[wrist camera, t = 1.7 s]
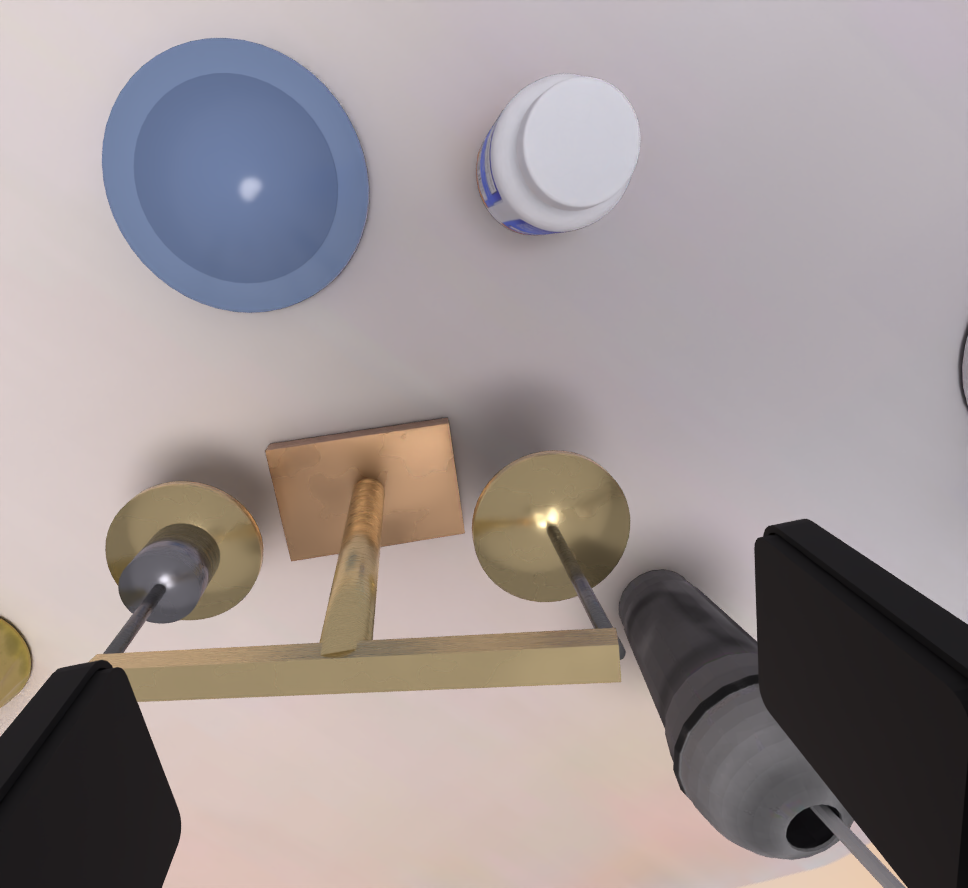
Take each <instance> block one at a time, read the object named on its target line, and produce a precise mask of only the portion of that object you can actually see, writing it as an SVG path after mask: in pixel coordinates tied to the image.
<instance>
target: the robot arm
mask: <svg viewBox="0 0 968 888" xmlns="http://www.w3.org/2000/svg"><path fill="white" fill-rule="evenodd" d="M962 373H963V389H964V393H965V397H966V401H967V405H968V337H967V340H966V344H965V350H964V357H963V364H962ZM754 551H755V582H756V614H757V645H758V676H759V690H760V694H761V697H762V700H763V703H764V705H765V707H766V709H767V710H768V712H769V713H770V714H771V716H772V717H773V718H774V719H775V721H776V722H777V723H778V724H779V726H780V727H781V728H782V730H783V731H784V732H785V733H786V735H787V736H788V737H789V738H790V740H791V741H792V742H793V743H794V745H795V746H796V747H797V748H798V750H799V751H800V752H801V754H802V755H803V756H804V757H805V759H806V760H807V761H808V762H809V764H810V765H811V766H812V767H813V769H814V770H815V771H816V772H817V774H818V775H819V776H820V778H821V779H822V780H823V781H824V783H825V784H826V785H827V786H828V788H829V789H830V790H831V791H832V793H833V794H834V795H835V797H836V798H837V799H838V800H839V802H840V803H841V804H842V805H843V807H844V808H845V809H846V810H847V812H848V813H849V814H850V815H851V817H852V818H853V819H854V821H855V822H856V823H857V824H858V826H859V827H860V828H861V829H862V831H863V832H864V833H865V834H866V836H867V837H868V838H869V839H870V841H871V842H872V843H873V845H874V846H875V847H876V848H877V850H878V851H879V852H880V853H881V855H882V856H883V857H884V858H885V860H886V861H887V862H888V863H889V865H890V866H891V867H892V869H893V870H894V871H895V872H896V873H897V875H898V876H899V877H900V879H901V880H902V881H903V882H904V883H905V885H906V886H907V887H908V888H968V624H966V623H965V622H963V621H962V620H960V619H959V618H957V617H956V616H954V615H953V614H951V613H950V612H948V611H947V610H945V609H944V608H942V607H941V606H939V605H938V604H936V603H935V602H933V601H931V600H930V599H928V598H927V597H925V596H924V595H922V594H921V593H919V592H918V591H916V590H915V589H913V588H912V587H910V586H909V585H907V584H906V583H904V582H903V581H901V580H900V579H898V578H897V577H895V576H894V575H892V574H891V573H889V572H888V571H886V570H885V569H883V568H882V567H880V566H879V565H877V564H876V563H874V562H873V561H871V560H870V559H868V558H867V557H865V556H864V555H862V554H861V553H859V552H858V551H856V550H855V549H853V548H852V547H850V546H849V545H847V544H846V543H844V542H843V541H841V540H840V539H838V538H837V537H835V536H834V535H832V534H830V533H829V532H827V531H826V530H824V529H823V528H821V527H820V526H818V525H817V524H815V523H814V522H812V521H810V520H808V519H801V520H796V521H791V522H786V523H781V524H776V525H771V526H768V527H767V528H766V529H765V532H764V534H763V537H760V538H758V539H757V540H756V542H755V548H754ZM180 834H181V818H180V813H179V810H178V807H177V805H176V802H175V799H174V797H173V794H172V791H171V789H170V786H169V784H168V781H167V778H166V776H165V773H164V771H163V768H162V765H161V763H160V760H159V757H158V755H157V752H156V750H155V747H154V744H153V742H152V739H151V737H150V734H149V731H148V729H147V726H146V724H145V721H144V718H143V716H142V713H141V710H140V708H139V705H138V703H137V700H136V697H135V695H134V692H133V690H132V687H131V684H130V682H129V679H128V676H127V675H126V673H125V671H124V670H123V669H122V668H120V667H115V668H113V666H112V665H111V664H110V663H109V662H108V661H106V660H98V661H93V662H88V663H83V664H78V665H73V666H68V667H63V668H60V669H57V670H56V671H55V672H54V673H53V674H52V675H51V676H50V677H49V679H48V680H47V681H46V682H45V684H44V685H43V686H42V687H41V688H40V690H39V691H38V692H37V693H36V694H35V696H34V697H33V698H32V699H31V700H30V702H29V703H28V704H27V705H26V707H25V708H24V709H23V710H22V711H21V713H20V714H19V715H18V716H17V717H16V719H15V720H14V721H13V722H12V724H11V725H10V726H9V727H8V728H7V730H6V731H5V732H4V733H3V734H2V736H1V737H0V888H162V885H163V883H164V880H165V878H166V875H167V872H168V870H169V867H170V864H171V862H172V859H173V856H174V854H175V851H176V848H177V846H178V843H179V839H180Z"/></svg>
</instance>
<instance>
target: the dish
mask: <svg viewBox="0 0 968 888" xmlns="http://www.w3.org/2000/svg"><path fill="white" fill-rule="evenodd" d="M102 168H103V180H104V185H105V190H106V195H107V199H108V202H109V205H110V208H111V211H112V213H113V216H114V218H115V220H116V223H117V225H118V227H119V229H120V231H121V233H122V234H123V236H124V238H125V239H126V241H127V242H128V244H129V245H130V247H131V249H132V250H133V251H134V252H135V254H136V255H137V256H138V257H139V258H140V260H141V261H142V262H143V263H144V264H145V265H146V266H147V267H148V268H149V269H150V270H151V271H152V272H153V273H154V274H155V275H156V276H157V277H158V278H160V279H161V280H162V281H164V282H165V283H166V284H167V285H169V286H170V287H172V288H173V289H175V290H176V291H178V292H180V293H181V294H183V295H185V296H187V297H189V298H191V299H193V300H195V301H198V302H200V303H202V304H205V305H208V306H212V307H215V308H218V309H223V310H229V311H234V312H249V313H252V312H267V311H272V310H277V309H282V308H285V307H288V306H291V305H294V304H296V303H299V302H301V301H303V300H305V299H307V298H309V297H311V296H313V295H314V294H316V293H317V292H319V291H320V290H322V289H323V288H325V287H326V286H327V285H328V284H330V283H331V282H332V281H333V280H334V279H335V278H336V277H337V276H338V275H339V274H340V273H341V271H342V270H343V269H344V268H345V266H346V265H347V264H348V263H349V261H350V259H351V258H352V256H353V254H354V253H355V251H356V249H357V247H358V244H359V242H360V240H361V237H362V235H363V231H364V228H365V224H366V221H367V214H368V207H369V180H368V171H367V166H366V162H365V158H364V154H363V151H362V148H361V145H360V142H359V139H358V137H357V134H356V132H355V130H354V128H353V126H352V124H351V122H350V120H349V118H348V116H347V115H346V113H345V111H344V110H343V108H342V107H341V105H340V104H339V102H338V101H337V99H336V98H335V97H334V96H333V95H332V93H331V92H330V91H329V90H328V89H327V87H326V86H325V85H324V84H323V83H322V82H321V81H320V80H318V79H317V78H316V77H315V76H314V75H313V74H312V73H311V72H310V71H308V70H307V69H306V68H304V67H303V66H302V65H300V64H299V63H297V62H296V61H294V60H293V59H291V58H289V57H287V56H286V55H284V54H282V53H280V52H278V51H276V50H273V49H271V48H268V47H266V46H263V45H260V44H257V43H253V42H249V41H245V40H238V39H229V38H209V39H202V40H196V41H190V42H187V43H184V44H181V45H178V46H175V47H172V48H170V49H168V50H166V51H165V52H163V53H161V54H159V55H157V56H155V57H154V58H153V59H151V60H150V61H149V62H147V63H146V64H145V65H143V66H142V67H141V68H140V69H139V70H138V71H137V72H136V73H135V74H134V75H133V76H132V77H131V78H130V80H129V81H128V82H127V84H126V85H125V87H124V88H123V89H122V91H121V92H120V94H119V96H118V98H117V100H116V102H115V104H114V106H113V108H112V110H111V113H110V116H109V119H108V122H107V125H106V129H105V135H104V140H103V151H102Z"/></svg>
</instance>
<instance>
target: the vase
mask: <svg viewBox="0 0 968 888" xmlns="http://www.w3.org/2000/svg"><path fill="white" fill-rule="evenodd" d="M30 670H31V658H30V653H29V650H28V647H27V645H26V643H25V641H24V640H23V638H22V637H21V635H20V634H19V633H18V632H17V631H16V630H15V629H14V628H13V627H12V626H11V625H10V624H9V623H7V622H6V621H4V620H3V619H1V618H0V708H1V707H2V706H4V705H5V704H6V703H8V702H9V701H10V700H11V699H12V698H14V697H15V696H16V695H17V694H18V693H19V692H20V691H21V690H22V689H23V687H24V686H25V684H26V682H27V680H28V678H29V675H30Z"/></svg>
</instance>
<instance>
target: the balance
mask: <svg viewBox="0 0 968 888" xmlns="http://www.w3.org/2000/svg"><path fill="white" fill-rule="evenodd" d="M265 452H266V457H267V461H268V465H269V469H270V474H271V478H272V482H273V486H274V491H275V495H276V499H277V503H278V508H279V512H280V516H281V520H282V525H283V529H284V533H285V537H286V542H287V546H288V550H289V554H290V559H291V561H297V560H303V559H309V558H315V557H321V556H327V555H334V554H339V556H338V561H337V566H336V570H335V575H334V579H333V584H332V588H331V593H330V598H329V602H328V607H327V611H326V616H325V621H324V625H323V630H322V634H321V639H320V643H309V644H290V645H270V646H251V647H231V648H212V649H192V650H173V651H153V652H134V653H124V651H125V650H126V648H127V647H128V645H129V644H130V643H131V641H132V640H133V638H134V637H135V635H136V634H137V633H138V631H139V630H140V628H141V627H142V625H143V624H144V623H145V621H148V622H153V623H171V622H175V621H178V620H198V619H205V618H210V617H213V616H216V615H219V614H222V613H224V612H226V611H228V610H229V609H231V608H232V607H234V606H235V605H237V604H238V603H239V602H240V601H241V600H243V599H244V597H245V596H246V595H247V594H248V593H249V591H250V590H251V588H252V587H253V585H254V583H255V581H256V579H257V577H258V574H259V572H260V569H261V566H262V561H263V542H262V537H261V534H260V531H259V528H258V526H257V524H256V522H255V520H254V519H253V517H252V516H251V514H250V513H249V512H248V511H247V509H246V508H245V507H244V506H243V505H242V504H241V503H240V502H238V501H237V500H236V499H235V498H233V497H232V496H230V495H229V494H227V493H225V492H224V491H222V490H220V489H217V488H215V487H212V486H210V485H206V484H202V483H197V482H190V481H176V482H168V483H163V484H159V485H156V486H153V487H150V488H148V489H146V490H144V491H142V492H141V493H139V494H138V495H136V496H135V497H134V498H133V499H131V500H130V501H129V502H128V503H127V504H126V505H125V506H124V507H123V508H122V509H121V510H120V511H119V512H118V514H117V515H116V516H115V518H114V520H113V521H112V523H111V525H110V528H109V530H108V534H107V538H106V549H105V550H106V559H107V563H108V567H109V570H110V572H111V575H112V577H113V578H114V580H115V582H116V583H117V585H118V588H119V594H120V597H121V600H122V602H123V603H124V605H125V606H126V608H127V609H128V610H129V611H130V612H131V613H133V615H132V616H131V617H130V619H129V620H128V621H127V623H126V624H125V625H124V627H123V628H122V629H121V631H120V632H119V633H118V635H117V636H116V637H115V639H114V640H113V641H112V643H111V644H110V645H109V647H108V648H107V649H106V651H105V652H104V653H103V654H97V655H96V656H95V657H94V658H92V659H91V660H90V661H89V662H93V661H98V660H106V661H108V662H109V663H110V664H111V665H112V666H113V668H115V667H120V668H122V669H123V670H124V671H125V673H126V675H127V676H128V679H129V682H130V684H131V687H132V690H133V692H134V695H135V697H136V700H137V702H147V701H172V700H196V699H220V698H245V697H269V696H294V695H318V694H342V693H367V692H391V691H416V690H440V689H464V688H489V687H513V686H538V685H562V684H586V683H611V682H621V671H620V660H621V659H623V658H624V656H625V653H626V651H625V649H624V647H623V645H622V643H621V641H620V640H619V638H618V636H617V632H616V628H613V627H612V625H611V623H610V621H609V620H608V618H607V616H606V614H605V612H604V610H603V609H602V607H601V605H600V603H599V601H598V599H597V598H596V596H595V594H594V592H593V590H592V588H593V587H595V586H596V585H597V584H599V583H600V582H601V581H602V580H604V579H605V578H606V577H607V576H608V575H609V574H610V573H611V571H612V570H613V569H614V567H615V566H616V565H617V563H618V562H619V560H620V558H621V557H622V555H623V552H624V550H625V548H626V545H627V541H628V538H629V531H630V514H629V508H628V504H627V501H626V498H625V496H624V494H623V491H622V490H621V488H620V487H619V485H618V483H617V482H616V481H615V480H614V479H613V478H612V476H611V475H610V474H609V473H608V472H607V471H606V470H605V469H604V468H603V467H601V466H600V465H599V464H597V463H596V462H594V461H593V460H591V459H589V458H587V457H585V456H583V455H579V454H576V453H573V452H567V451H555V450H552V451H542V452H537V453H532V454H529V455H527V456H524V457H521V458H519V459H517V460H515V461H513V462H511V463H510V464H508V465H507V466H505V467H504V468H503V469H502V470H500V471H499V472H498V473H497V474H496V475H495V476H494V477H493V478H492V479H491V480H490V481H489V482H488V484H487V485H486V487H485V488H484V490H483V491H482V493H481V495H480V497H479V499H478V501H477V504H476V507H475V510H474V515H473V520H472V536H473V542H474V547H475V551H476V554H477V557H478V560H479V562H480V564H481V566H482V568H483V570H484V571H485V572H486V574H487V575H488V576H489V578H490V579H491V580H492V581H493V582H494V583H495V584H496V585H498V586H499V587H500V588H502V589H503V590H504V591H506V592H508V593H510V594H512V595H514V596H516V597H519V598H522V599H526V600H530V601H537V602H554V601H561V600H565V599H570V598H572V597H575V596H579V598H580V600H581V602H582V604H583V606H584V608H585V610H586V612H587V614H588V617H589V619H590V621H591V623H592V625H593V627H594V629H582V630H562V631H543V632H523V633H504V634H484V635H465V636H445V637H426V638H406V639H387V640H373V628H374V616H375V604H376V592H377V580H378V569H379V557H380V547H383V546H389V545H395V544H401V543H408V542H414V541H420V540H426V539H432V538H438V537H445V536H451V535H457V534H463V533H465V531H464V524H463V517H462V510H461V504H460V497H459V490H458V483H457V476H456V469H455V462H454V455H453V448H452V441H451V434H450V427H449V421H448V418H440V419H434V420H427V421H420V422H414V423H407V424H400V425H393V426H387V427H380V428H373V429H366V430H360V431H353V432H346V433H339V434H333V435H326V436H319V437H312V438H306V439H299V440H292V441H285V442H279V443H272V444H270V445H269V446H268V447H267V449H266V450H265Z"/></svg>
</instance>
